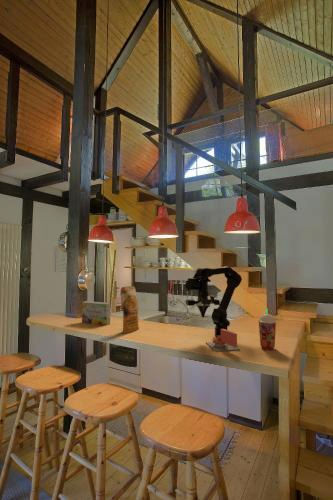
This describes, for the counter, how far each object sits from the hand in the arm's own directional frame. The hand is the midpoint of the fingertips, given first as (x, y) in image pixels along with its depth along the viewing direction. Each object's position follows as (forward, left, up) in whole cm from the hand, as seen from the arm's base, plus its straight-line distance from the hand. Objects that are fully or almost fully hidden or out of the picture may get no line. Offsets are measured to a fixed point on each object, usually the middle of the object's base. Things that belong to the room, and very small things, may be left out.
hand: (202, 317), depth 156 cm
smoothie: (-27, +22, -12) cm, 37 cm away
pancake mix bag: (+40, -26, -12) cm, 49 cm away
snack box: (+63, -51, -12) cm, 82 cm away
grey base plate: (-6, +16, -12) cm, 21 cm away
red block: (-5, +20, -10) cm, 23 cm away
